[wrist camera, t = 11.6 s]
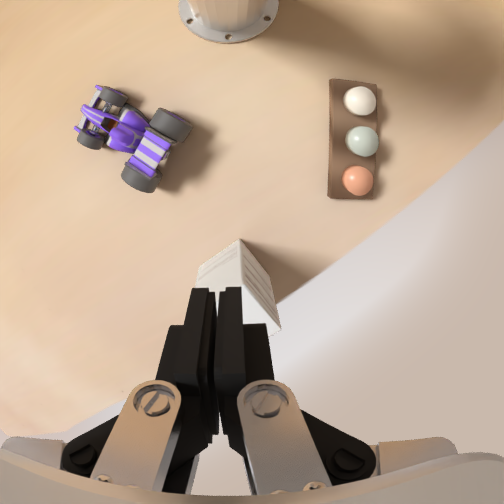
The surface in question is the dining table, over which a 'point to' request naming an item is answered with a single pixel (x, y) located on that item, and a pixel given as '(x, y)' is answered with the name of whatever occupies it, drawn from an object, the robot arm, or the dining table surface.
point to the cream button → (359, 101)
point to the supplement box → (242, 284)
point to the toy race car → (132, 136)
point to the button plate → (338, 129)
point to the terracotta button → (357, 180)
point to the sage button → (362, 141)
